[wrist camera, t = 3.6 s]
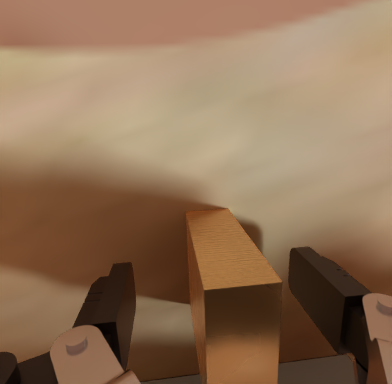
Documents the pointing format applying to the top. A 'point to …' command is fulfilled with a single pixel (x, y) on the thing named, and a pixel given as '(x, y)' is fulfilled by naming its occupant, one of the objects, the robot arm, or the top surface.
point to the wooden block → (232, 301)
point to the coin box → (295, 372)
